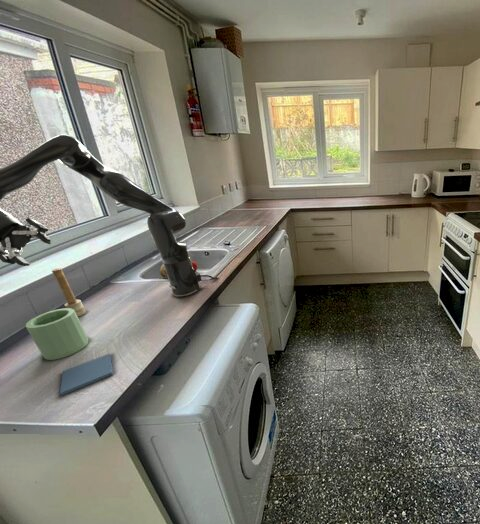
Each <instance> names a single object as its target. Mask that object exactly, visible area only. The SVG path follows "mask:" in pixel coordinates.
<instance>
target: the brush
mask: <svg viewBox="0 0 480 524" xmlns="http://www.w3.org/2000/svg"><path fill="white" fill-rule="evenodd" d="M51 272H52V274H53V277H54V278H55V280H56V283H57V284H58V286H59V289H60V291H61V293H62V295H63V297H64V299H65V301H66V303H64V307H65V308H71V309H74V311H75V313H76V315H77V317H78V318H80V317H81V316H84V315H85V314H86V313H87V311H86V308H85V306H84V305H83V302H82V300H81V299H77V298H76V296H75V294H74V292H73V290H72V288H71V285H70V284H69V282H68V280H67V277H66V275H65V273H64V271H63V269H62V268H61V267H58V268H54V269H51Z"/></svg>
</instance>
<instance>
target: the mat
mask: <svg viewBox="0 0 480 524" xmlns="http://www.w3.org/2000/svg"><path fill="white" fill-rule="evenodd" d="M61 374H62V376H61V383H60V390H59V395H60V396H64V395H66V394H67V395H68V394H69V393H72V392H74V391H76V390H79V389H81V388H83V387H86V386H88V385H91V384H94V383H96V382H98V381H101V380H103V379H106V378H107V377H110V376H113V374H114V373H113V364H112V355H111V353H107V354H105V355H102V356H100V357H96V358H94V359H92V360H89V361H86V362H83V363H81V364H79V365H76V366H73V367H71V368H68V369H65V370H63V371H62V373H61Z"/></svg>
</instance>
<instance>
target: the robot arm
mask: <svg viewBox="0 0 480 524" xmlns="http://www.w3.org/2000/svg"><path fill="white" fill-rule="evenodd" d="M56 161H59V162H60V163H61V164H63V165H64V166H65V167H67V168H68V169H71V170H72V171H73V172H76V173H78V174H79V175H81V176H83V177H84V178H86V179H87V180H89V181H91V182H92V184H94V185H95V187H97V188H98V189H99V190H100V191H101V192H103V193H104V194H105V195H107V196H108V197H109V198H110V199H112V200H114V201H115V202H117V203H119V204H120V205H122V206H125V207H127V208H130V209H131V208H132V209H135V210H138V211H141V212H145V213H147V214H149V216H147V220H146V222H147V223H146V224H147V228H148V231H149V234H150V236H151V238H152V241H153V245H154V246H155V248H156V250H158V252H159V254H160V257H161V261H162V265H163V264H164V267H165V270H166V273H167V276H168V278H167V279H168V283H169V288H170V289H171V291H172V295H173V296H174V297H177V298H182V297H187V296H190V295H193V294H195V293H197V292H198V291H201V287H200V283H199V282H202V281H203V280H202V277H203V278H206V277H207V278H209V279H212V280H218V277H217V276H216V277H213V276H212V275H209V274H200V272H199V271H197V270H196V272H195V269H194V268H193V266H192V263H191V260H192V259H191V256H190V252H189V249H188V246H187V243H186V242H183V241H176V239H175V237H174V235H176V234H179V233H181V232H182V231H184V230H185V229H186V227H187V222H186V219H185V217H184V216H183V214H181V212H179V211H178V210H176V208H174V207H172V206H170V205H169V204H167V203H165V202H163V201H161V200H160V199H158V198H156V197H155V196H153V194H151V193H149V192H148V191H146V190H145V189H143V188H142V187H140V186H139V185H138V184H137V183H135V182H134V181H133V180H131V179H130V178H129V177H127V176H126V175H124V174H123V173H121V172H119V171H116V170H114V169H111V168H109V167H108V166H105V165H104V164H102V162H100V161H99V160H98V159H97V158H95V157H94V155H92V154H91V152H90V151H89V150H87V148H86V147H85V146H84V145H83V144H82V143H81V142H80V141H79V140H78V139H77V138H75V137H73V136H72V135H70V134H60V135H56V136H54V137H52V138H49V139H48V140H46V141H45V142H43V143H41V144H40V145H38V146H37V147H35V148H34V149H33V150H31V151H29V152H28V153H27V154H25V155H23V156H22V157H20V158H19V159H17V160H15V161H14V162H12V163H11V164H8V165H6V166H4V167H1V168H0V201H2V200H3V199H4V198H5V197H6V196H8V195H10V194H12V193H14V192H16V191H18V190H20V189H22V188H23V187H26V186H28V185H29V184H30V183H31V182H32V181H33V180H34V179H35V178H36V176H37V175H38V174H39V172H40V171H41V170H42V169H43V168H44V167H45V166H47V165H49V164H50V163H53V162H56ZM25 222H26V223H25V224H23V223H22V222H21V221H19V220H18V219H17V218H15V216H13V215H12V214H10V212H9V213H8V212H7V211H5V210H4V209H3V208H1V207H0V245H1V247H0V261H1V262H2V263H6V264H10V265H15V264H17V265H19V266H23V267H29V266H30V265H31V263H30V262H29V261H28V260H26V259H25V258H23V257H22V254H23V253H24V250H23V249H24V248H25V247H26V245H27V244H28V243H30V242H31V241H32V239H38V240H40V241H41V242H42V243H44V244H47V245H51V244H52V239H51V238H50V237H49V236H48V235H46V233H47V232H48V231H49V228H48V227H47V226H45V225H44V224H42V223H41V222H40V221H37V220H35V219H33V218H30V217H26V218H25ZM31 228H36V229H37V230H31Z"/></svg>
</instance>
